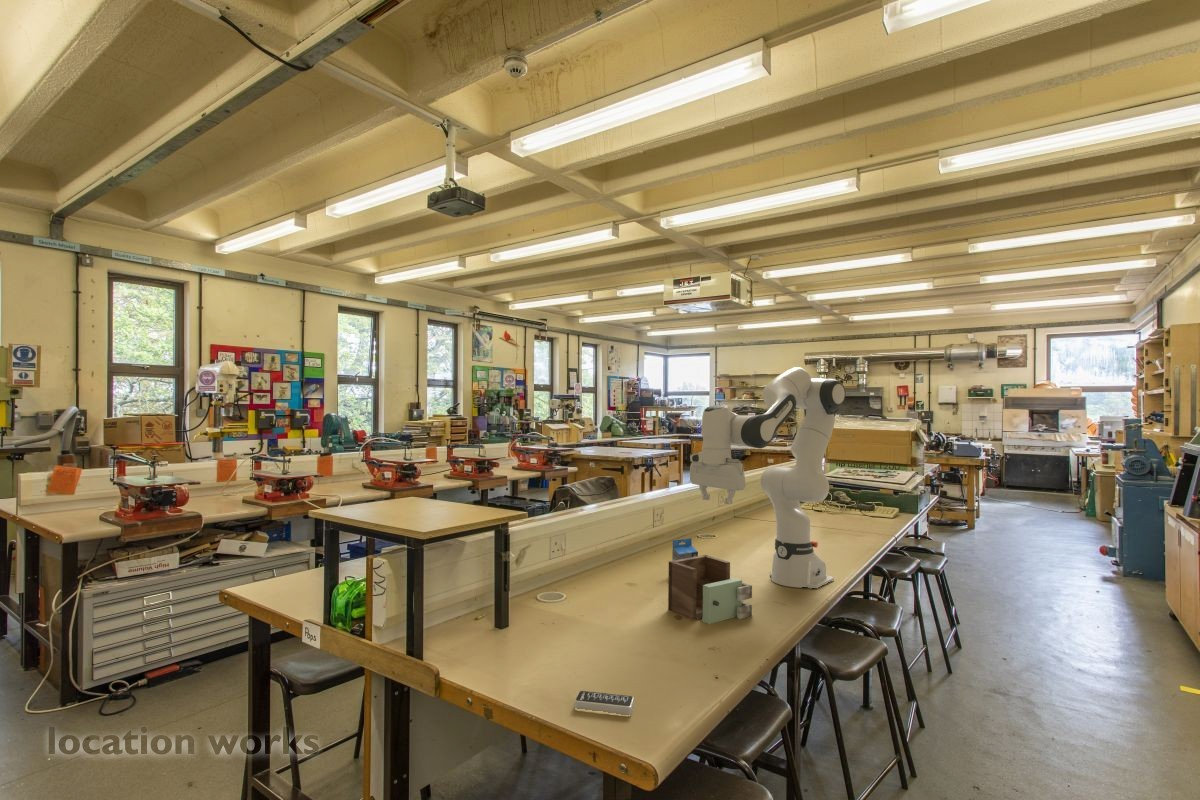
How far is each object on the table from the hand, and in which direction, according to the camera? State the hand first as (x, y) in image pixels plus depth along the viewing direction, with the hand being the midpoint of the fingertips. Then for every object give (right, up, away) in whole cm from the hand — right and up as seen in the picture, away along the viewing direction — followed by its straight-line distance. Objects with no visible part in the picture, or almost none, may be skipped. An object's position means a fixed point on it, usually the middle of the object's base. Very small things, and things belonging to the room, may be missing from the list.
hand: (717, 501), depth 177 cm
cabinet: (-5, -30, -13) cm, 33 cm away
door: (-2, -30, -17) cm, 34 cm away
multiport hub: (-36, -29, -67) cm, 81 cm away
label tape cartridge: (-6, -31, +25) cm, 40 cm away
